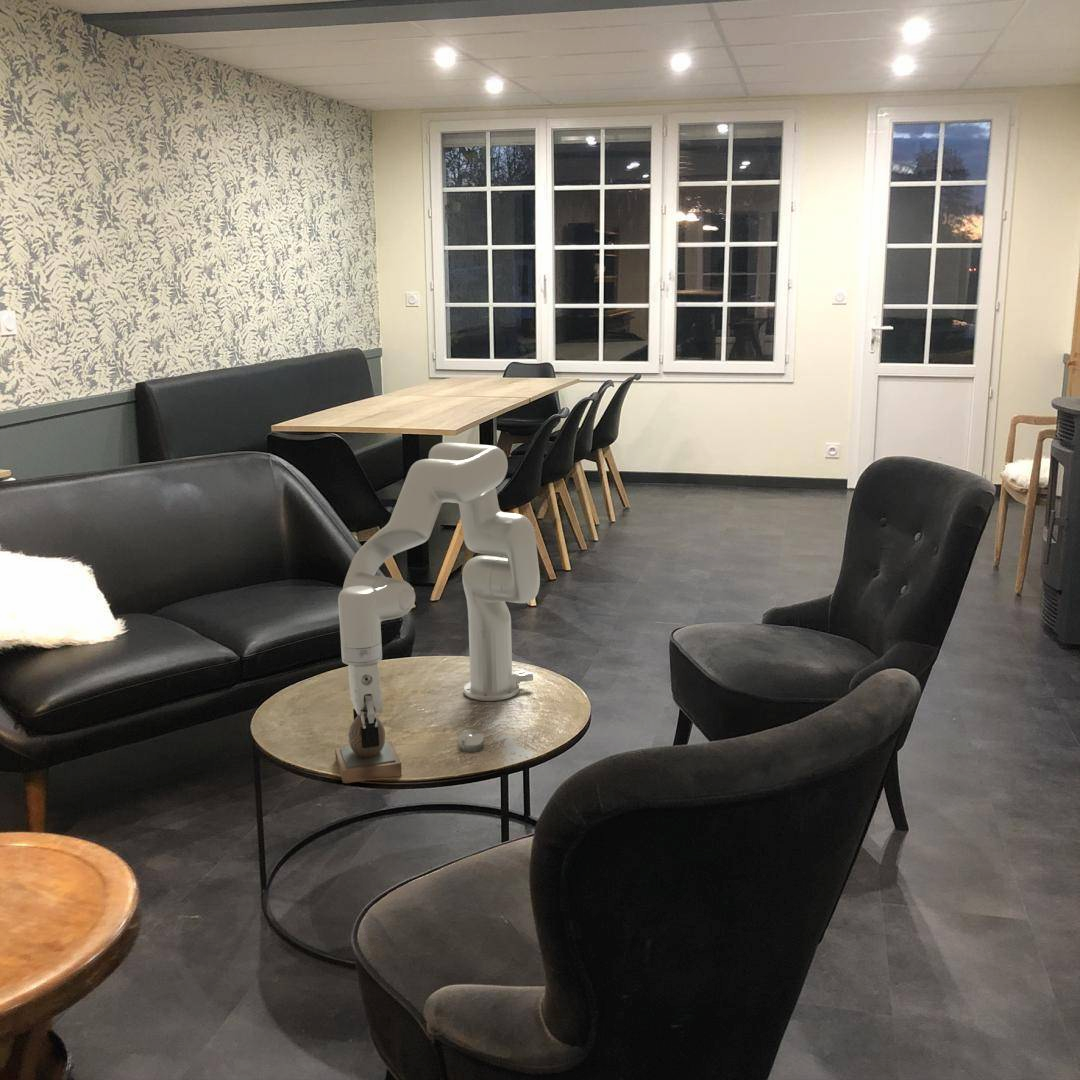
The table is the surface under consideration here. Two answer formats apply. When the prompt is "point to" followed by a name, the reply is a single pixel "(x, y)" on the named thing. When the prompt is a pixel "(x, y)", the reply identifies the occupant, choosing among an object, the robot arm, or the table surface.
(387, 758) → the plinth
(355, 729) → the vase
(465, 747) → the tin
